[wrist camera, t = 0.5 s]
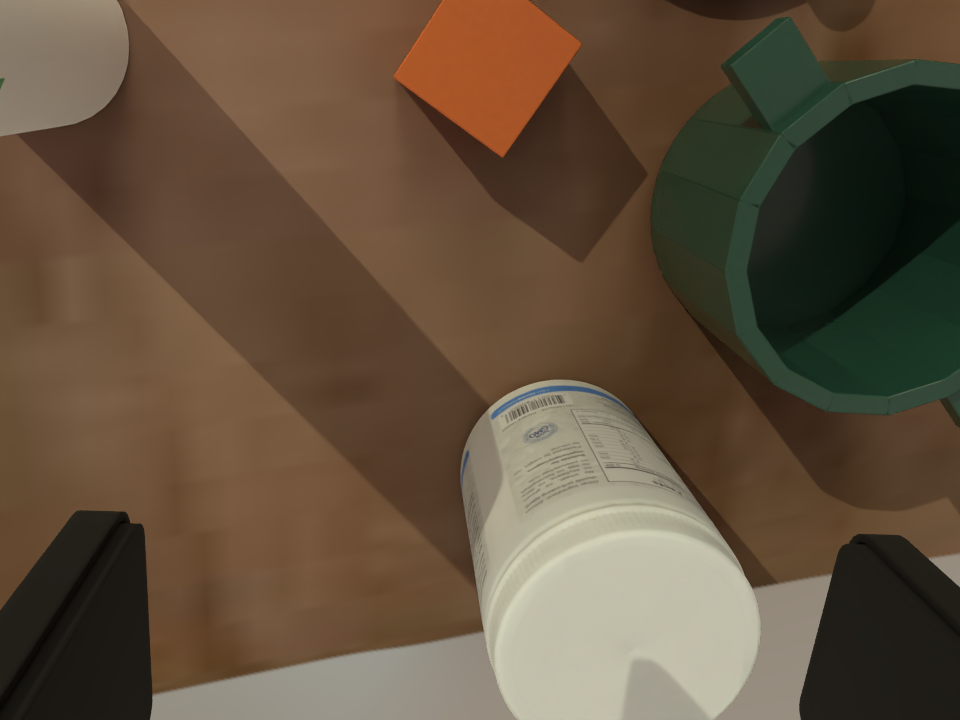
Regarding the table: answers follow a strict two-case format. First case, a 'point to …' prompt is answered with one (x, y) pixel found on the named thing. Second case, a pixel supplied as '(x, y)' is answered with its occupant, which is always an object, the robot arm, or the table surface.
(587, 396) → the supplement tub
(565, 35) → the block
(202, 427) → the table surface
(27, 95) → the cylindrical container
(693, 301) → the green cooking pot
